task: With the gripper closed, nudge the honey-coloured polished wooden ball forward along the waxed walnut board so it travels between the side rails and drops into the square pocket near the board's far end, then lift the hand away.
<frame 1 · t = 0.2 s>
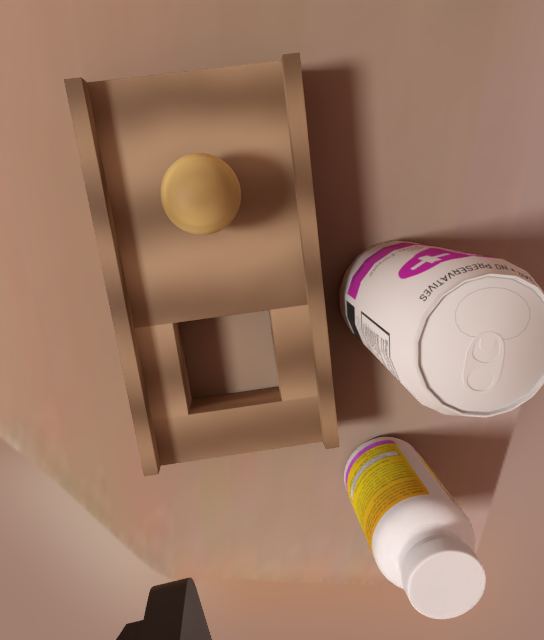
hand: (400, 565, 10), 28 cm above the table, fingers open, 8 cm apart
ball: (201, 194, 30), point 5 cm above the table, touching deck
supplement can: (389, 293, 38), on the table
deck: (217, 273, 36), on the table
supplement bottle 2: (381, 469, 41), on the table
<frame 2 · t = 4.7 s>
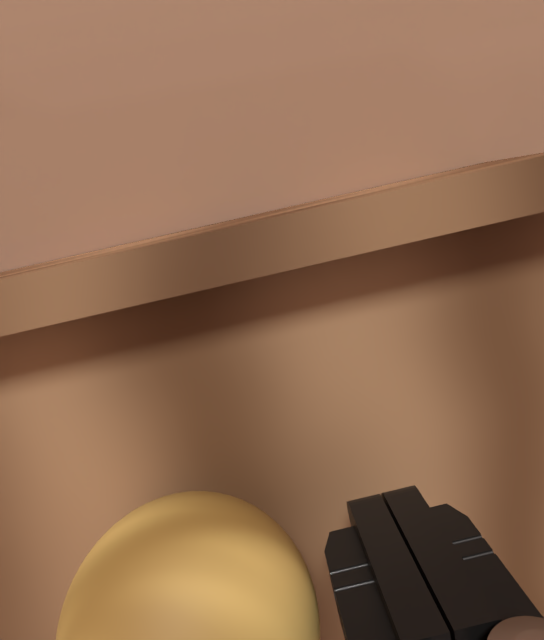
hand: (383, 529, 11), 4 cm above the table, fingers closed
ball: (192, 624, 9), point 5 cm above the table, touching gripper
deck: (85, 503, 15), on the table
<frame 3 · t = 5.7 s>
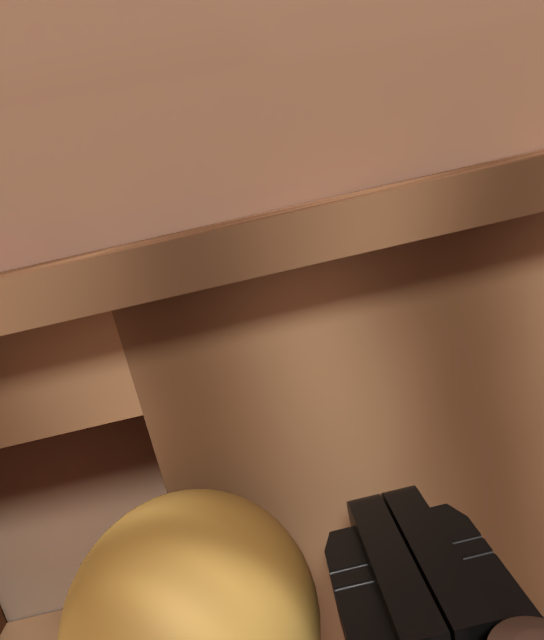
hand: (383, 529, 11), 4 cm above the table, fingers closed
ball: (194, 622, 9), point 5 cm above the table, tilted 27°, touching deck, gripper
deck: (279, 456, 15), on the table
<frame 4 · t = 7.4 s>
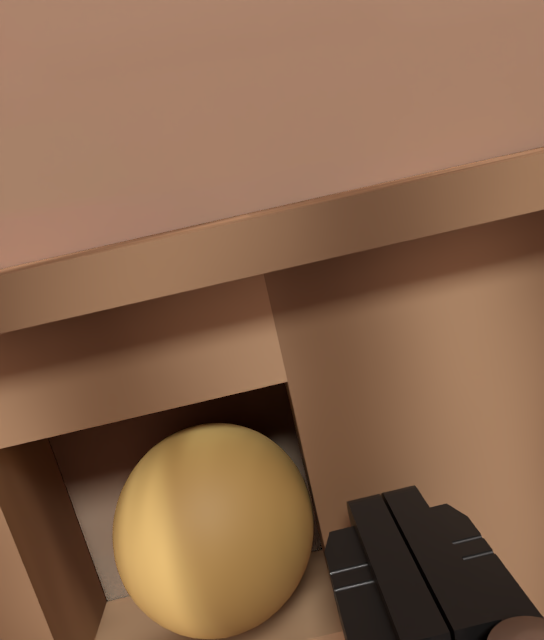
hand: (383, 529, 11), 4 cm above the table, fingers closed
ball: (215, 522, 12), point 2 cm above the table, tilted 105°
deck: (386, 432, 15), on the table
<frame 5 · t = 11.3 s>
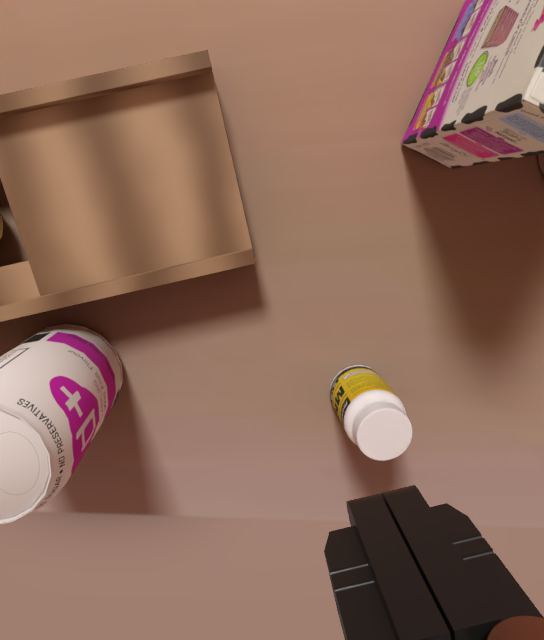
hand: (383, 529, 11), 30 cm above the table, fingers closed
supplement can: (73, 370, 40), on the table
supplement bottle: (355, 389, 42), on the table
deck: (63, 204, 37), on the table
candy bar box: (458, 88, 38), on the table
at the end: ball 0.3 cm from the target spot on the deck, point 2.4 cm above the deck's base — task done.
